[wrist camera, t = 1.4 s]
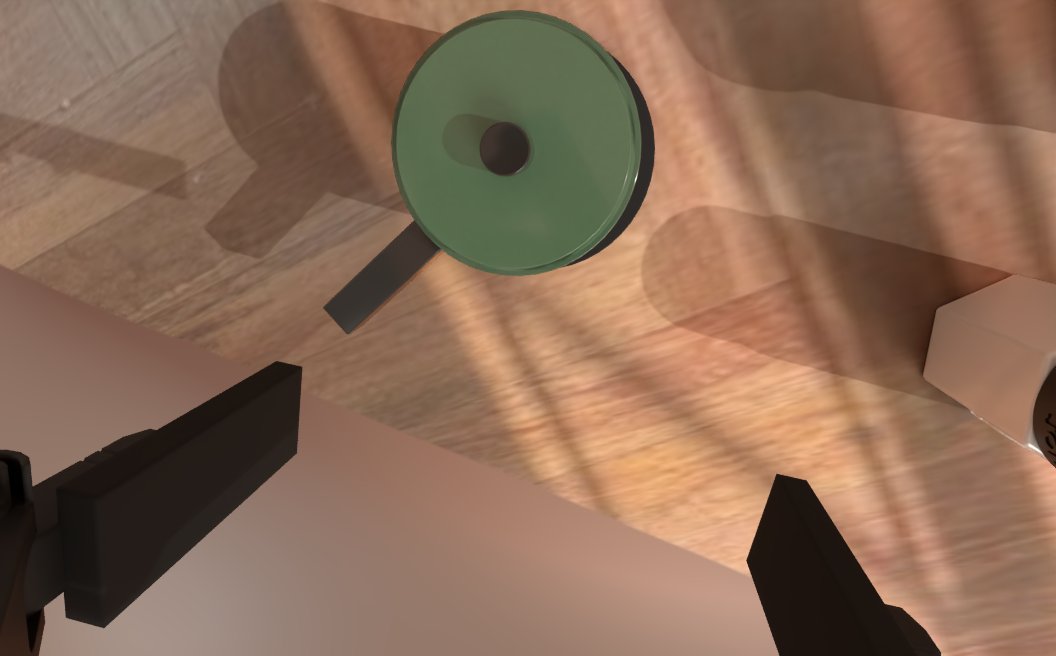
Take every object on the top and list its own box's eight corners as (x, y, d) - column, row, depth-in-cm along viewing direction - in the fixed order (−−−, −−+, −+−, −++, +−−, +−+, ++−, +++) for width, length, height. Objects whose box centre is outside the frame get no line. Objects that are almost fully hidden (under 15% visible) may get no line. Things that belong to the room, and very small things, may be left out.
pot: (329, 226, 37) (218, 247, 27) (547, 6, 32) (516, -75, 21) (445, 356, 39) (383, 425, 28) (673, 165, 33) (702, 163, 23)
